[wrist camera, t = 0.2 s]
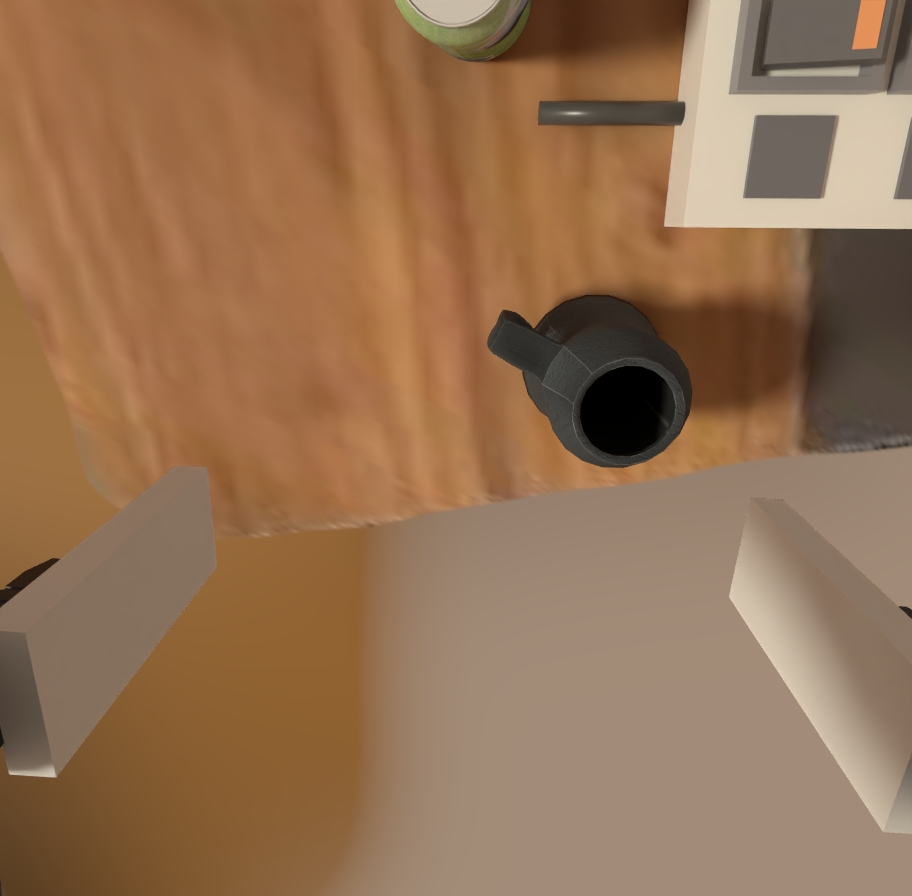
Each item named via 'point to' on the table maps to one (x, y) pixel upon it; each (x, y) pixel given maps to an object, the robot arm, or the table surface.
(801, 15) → the rocker
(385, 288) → the table surface
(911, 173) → the power strip
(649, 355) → the mug
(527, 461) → the table surface
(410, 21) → the beverage can
